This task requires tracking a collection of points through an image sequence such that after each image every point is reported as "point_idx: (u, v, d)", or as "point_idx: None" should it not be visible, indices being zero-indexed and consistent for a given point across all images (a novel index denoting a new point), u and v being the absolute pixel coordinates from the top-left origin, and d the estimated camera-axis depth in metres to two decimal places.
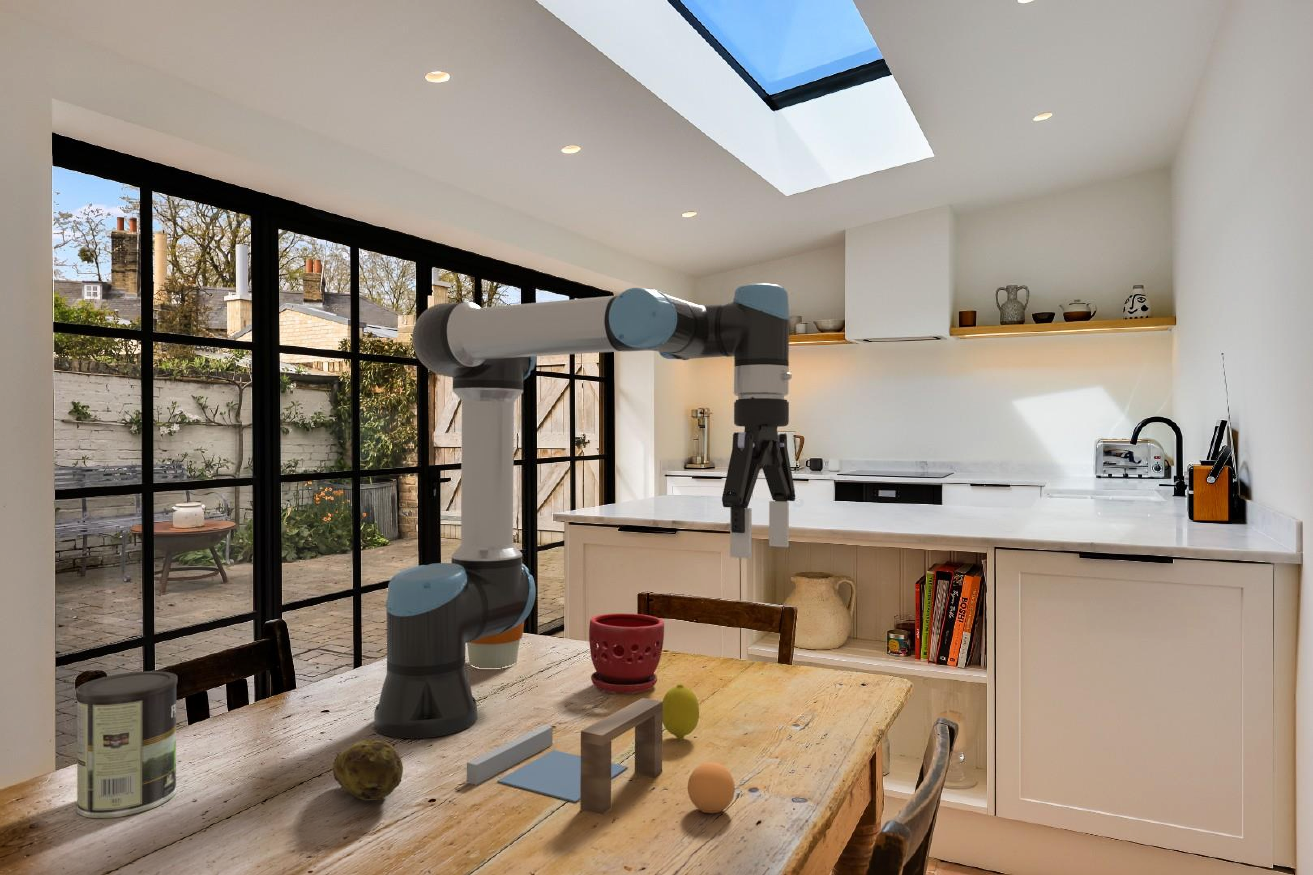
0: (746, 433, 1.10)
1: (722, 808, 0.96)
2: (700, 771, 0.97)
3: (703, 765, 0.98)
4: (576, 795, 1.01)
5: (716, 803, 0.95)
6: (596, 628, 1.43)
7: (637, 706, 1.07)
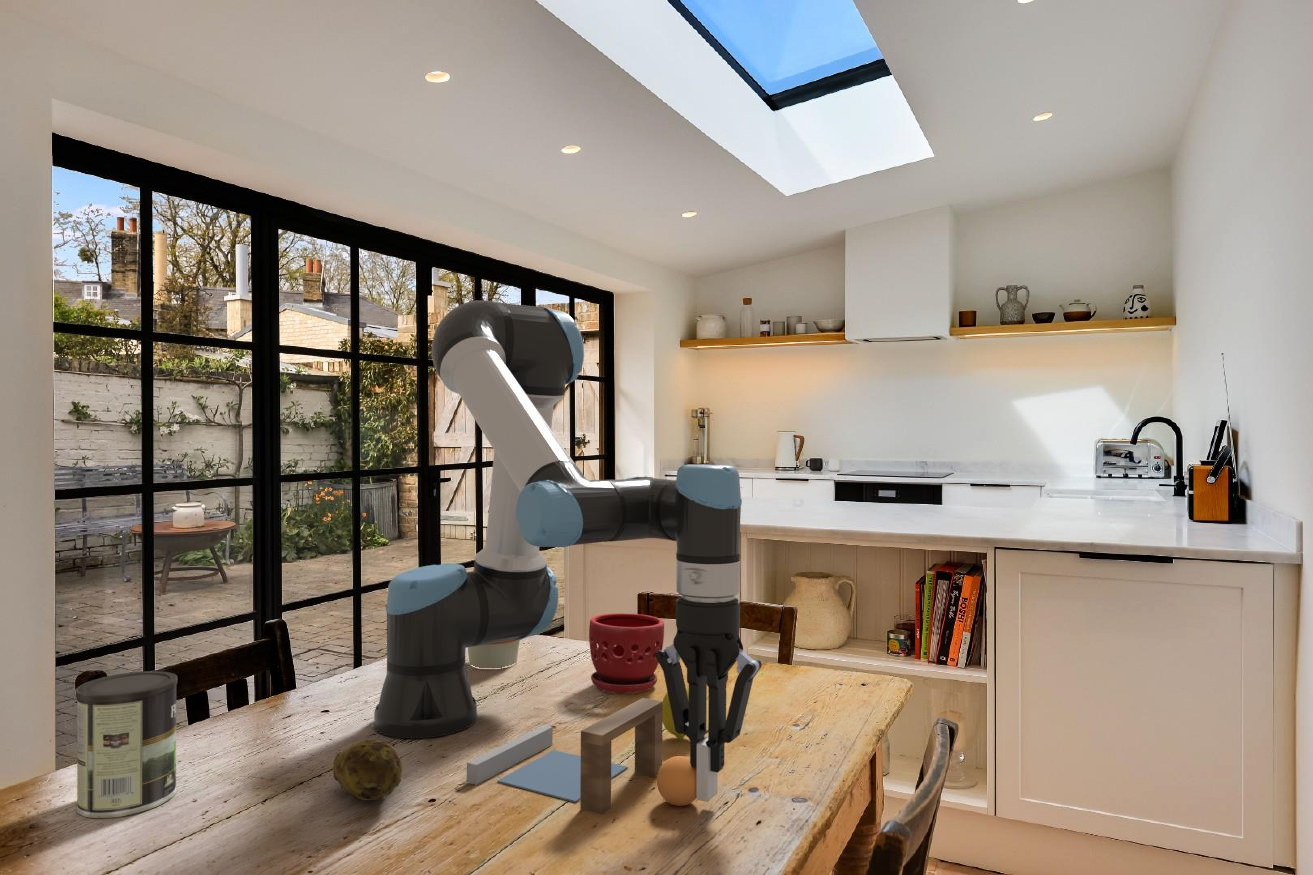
0: None
1: (694, 783, 0.98)
2: (657, 774, 0.99)
3: None
4: (576, 795, 1.01)
5: (683, 782, 0.97)
6: (596, 628, 1.43)
7: (637, 706, 1.07)
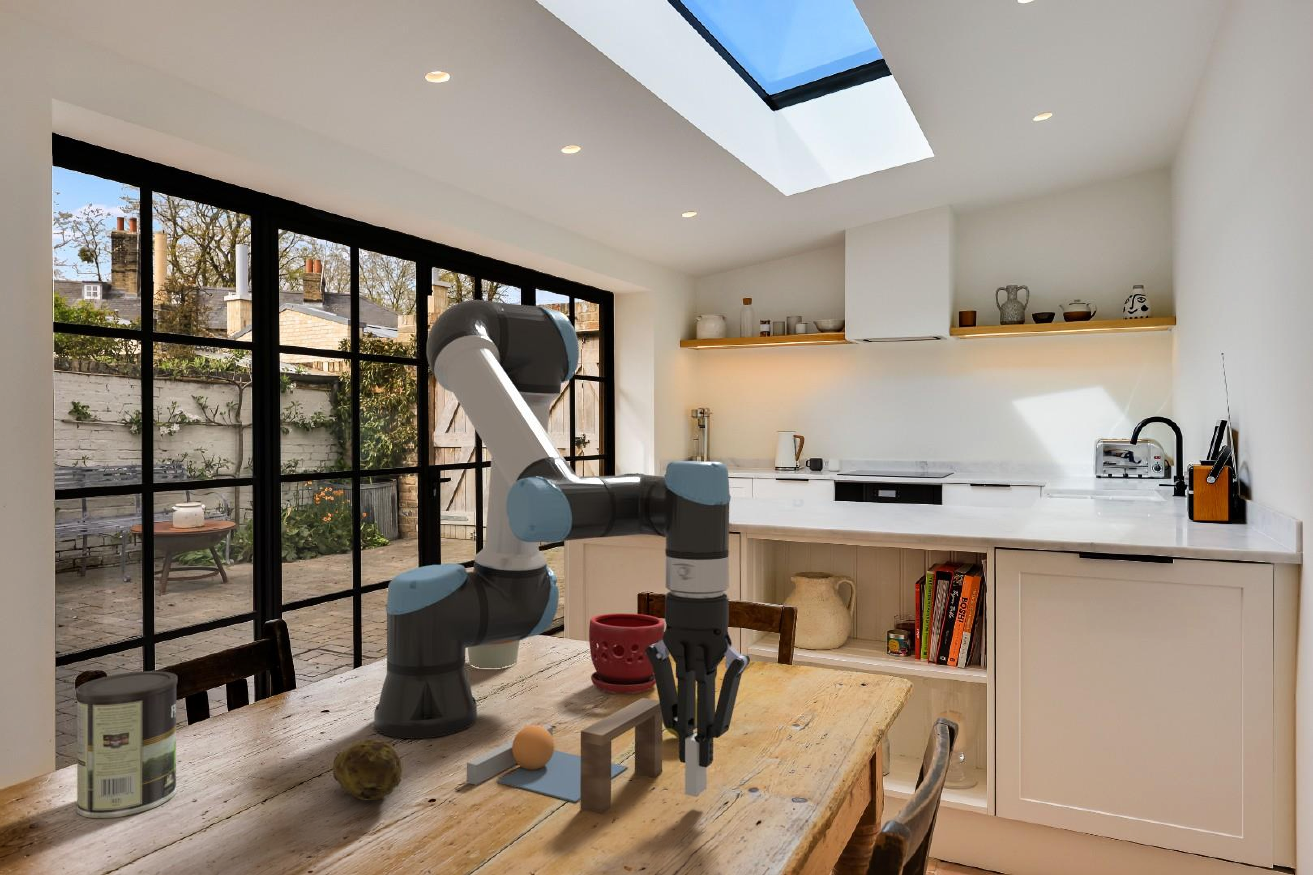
0: None
1: (523, 730, 1.10)
2: None
3: None
4: (576, 795, 1.01)
5: (517, 740, 1.09)
6: (596, 628, 1.43)
7: (637, 706, 1.07)
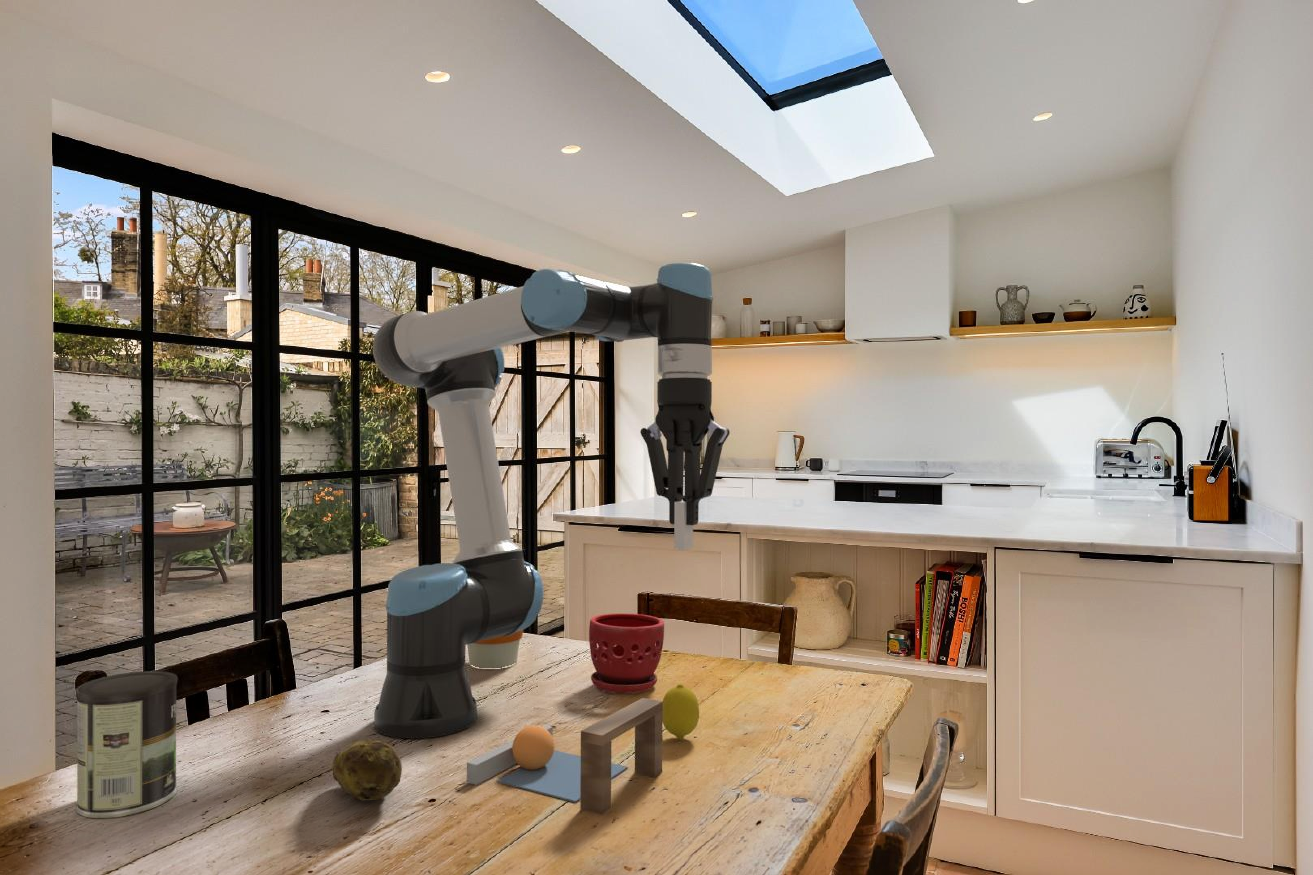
0: None
1: (523, 730, 1.10)
2: (523, 767, 1.09)
3: None
4: (576, 795, 1.01)
5: (517, 740, 1.09)
6: (596, 628, 1.43)
7: (637, 706, 1.07)
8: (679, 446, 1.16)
